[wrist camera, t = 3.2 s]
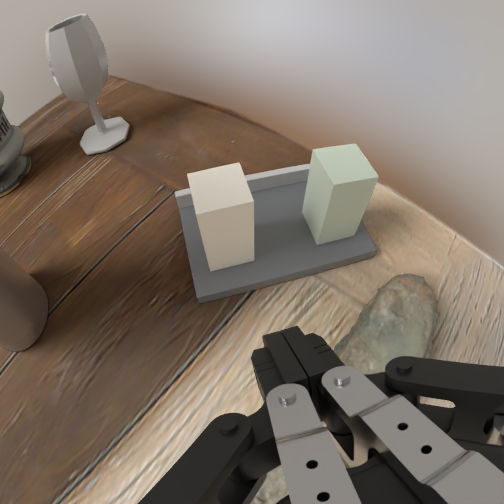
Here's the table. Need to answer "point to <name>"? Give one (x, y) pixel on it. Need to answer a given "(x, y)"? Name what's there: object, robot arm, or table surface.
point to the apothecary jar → (11, 154)
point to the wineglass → (84, 77)
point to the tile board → (270, 239)
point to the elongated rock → (377, 345)
